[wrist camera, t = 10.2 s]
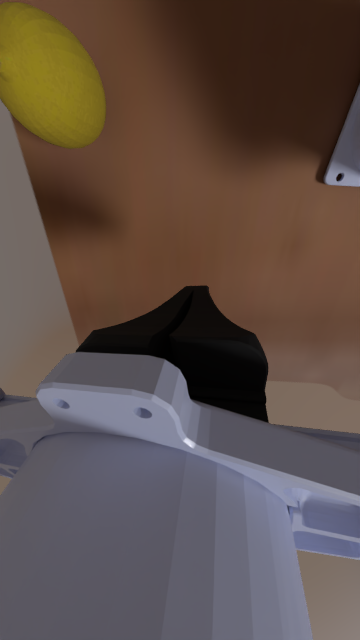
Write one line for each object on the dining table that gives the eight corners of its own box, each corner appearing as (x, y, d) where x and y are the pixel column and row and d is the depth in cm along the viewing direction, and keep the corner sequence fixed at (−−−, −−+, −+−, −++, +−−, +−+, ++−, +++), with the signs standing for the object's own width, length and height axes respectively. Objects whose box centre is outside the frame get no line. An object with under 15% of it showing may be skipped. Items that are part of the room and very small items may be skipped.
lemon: (43, 66, 15) (-95, -18, 8) (109, 39, 14) (4, -84, 7) (75, 159, 18) (-8, 150, 12) (132, 145, 17) (73, 125, 10)
